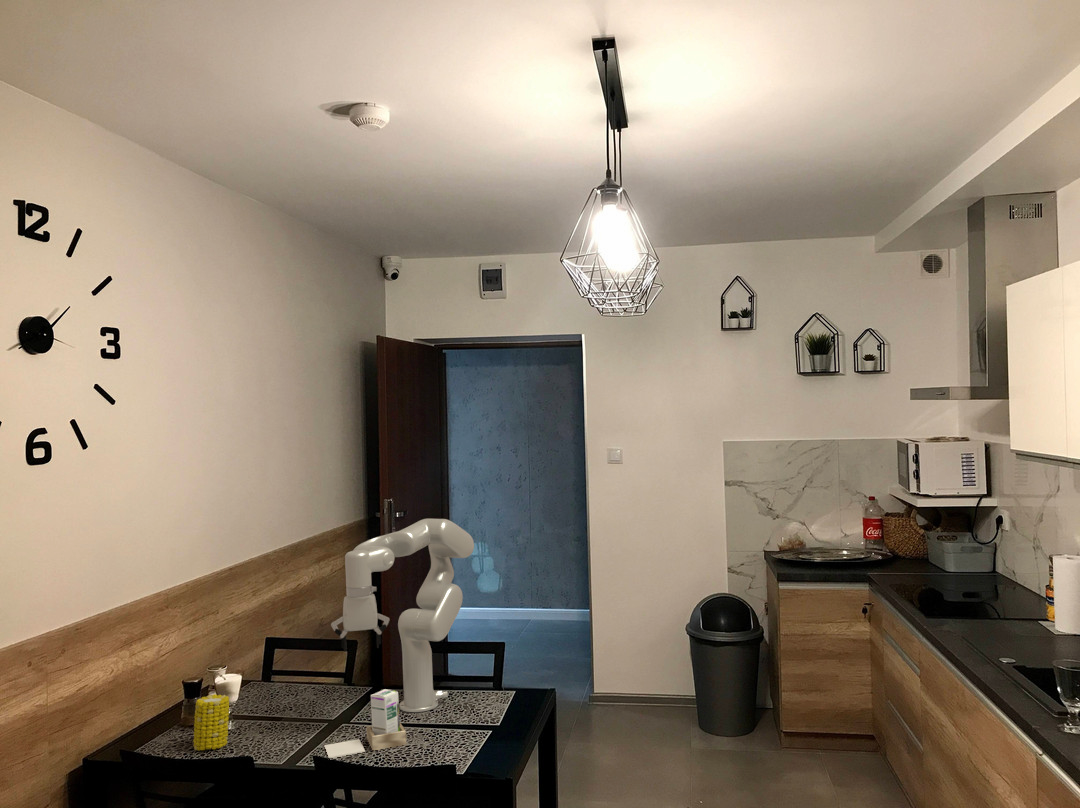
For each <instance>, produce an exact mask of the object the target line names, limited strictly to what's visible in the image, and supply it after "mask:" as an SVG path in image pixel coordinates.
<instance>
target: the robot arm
mask: <svg viewBox="0 0 1080 808" xmlns="http://www.w3.org/2000/svg"><path fill="white" fill-rule="evenodd" d="M427 546H428V551H429V555H430V556H429V557H430V568H429V571H428V573H427V576H426V578H425V579H424V581H423V583H422V585H421V586H420V588H419V590H418V592H417V595H416V598H415V599H416V600H415V601H416V605H417V606H418V607H419V608H408V609H406V610H404V611H402V612H401V614H400V615H399V618H398V620H397V621H398V623H397V627H398V628H397V629H398V632H399V636H400V640H401V641H400V642H401V652H402V653H401V654H402V682H403V683H402V684H403V700H402V701H400V703H399V710H401V711H403V712H407V713H423V712H427V711H430V710H434V709H435V708H437V707H438V706H439V699H444V698H448V695H449V693H448V690H445V691H442V690H437V691H435V690H434V683H433V682H434V680H433V678H434V677H433V656H432V655H433V652H432V648H431V645H430V641H431V642H440V641H442V640H444V639H445V638H446V637H447V635H448V634H449V632H450V630H451V628H452V626H453V624H454V622H455V620H456V618H457V617H458V614H459V612H460V610H461V607H462V606H463V605H462V604H463V600H464V599H463V595H464V594H463V592H462V589H461V588H460V586H459V585H457V584H455V583H452V581H453V580H454V576H455V570H454V568H453V565H452V562H451V558H452V559H464V558H466V559H467V558H468V557H470V556H471V555H472V553H473V552H474V549H475V542H474V539H473V537H472V535H471V534H470V533H468V531H466V530H465V529H464V528H462V527H460V526H459V525H458V524H457V523H455V522H453V521H452V520H449V519H446V518H423V519H421V520H418V521H417V522H414V523H413V524H411V525H409V526H407V527H405V528H402V529H400V530H398V531H394V532H391V533H386V534H384V535H379V536H376V537H373V538H371V539H367V540H366V541H364V542H361V543H360V544H358V545H357V546H355V548H354V549H353V550H351V551H348V552H346V553H345V556H344V562H345V563H344V564H345V565H344V566H345V586H346V588H345V590H346V596H344V597H343V605H342V607H343V608H342V616H340V617H339V618H337V619H336V620H334V621H332V622H331V624H330V626H331V628H332V630H333V631H334V633H335V634H336V635H337V636H338V637H339V638H340V641H341V646H340V647H341V649H343V651H344V652H346V651H348V650H347V649H348V648H347V646H348V645H347V636H346V635H347V634H348V632H354V631H355V632H356V631H367V630H373V631H374V632H376V633H375V638H376V643H375V644H376V648H377V649H380V645H382V636H381V635H382V633H383V632H384V631H385V630H386V629H387V627H388V625H389V623H390V617H388V616H386V615H383V614H381V613H378V608H377V600H376V596H375V594H374V592H378V591H377V589H378V588H377V586H373V585H372V573H374V572H384V571H387V570H389V569H390V568H391V567H392V566H393V565H394V562H395V558H401V557H406V556H410V555H413V554H414V553H416V552H417V551H420V550H421V549H424V548H425V547H427ZM378 620H381V621H383V623H382V624H381V626H380V627H379V625H378ZM341 623H342V626H343V630H341V629H340V628H339V627H338V625H340V624H341Z"/></svg>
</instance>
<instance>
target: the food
mask: <svg viewBox="0 0 1080 808" xmlns="http://www.w3.org/2000/svg"><path fill="white" fill-rule="evenodd" d="M229 716H230V697H229V696H228V695H226V694H222V695H221V694H216V693H214V694H212V695H211V694H209V695H207V696H202V697H201V698H198V699H197V700H196V702H195V710H194V717H193V718H194V723H193V726H194V728H193V731H194V732H193V739H192V742H193V749H194V750H195V751H196V750H197V751H205V750H211V749H212V750H216V749H218V750H219V748H220V749H222V748H224V747H225V746H226V745H227V744H228V739H229V738H228V736H229V731H228V730H229V724H230V723H229V722H230V721H229V719H230V718H229ZM223 746H224V747H223ZM221 747H222V748H221Z"/></svg>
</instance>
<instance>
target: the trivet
mask: <svg viewBox="0 0 1080 808" xmlns="http://www.w3.org/2000/svg"><path fill="white" fill-rule="evenodd" d="M324 747H325V748H324ZM323 748H324V750H325V749H326V751H325V753H326V752H327V753H326V756H327V755H328V756H327V758H333V759H332V760H335V759H338V758H337V757H341V758H343V757H342V756H346V755H352V754H357V753H362V752H365V753H366V750H365V748H364V746H363V743H362V742H361V740H360V739H359V738H358V739H353V740H348V741H341V742H340V741H339V742H336V743H330V744H324V746H323ZM352 756H353V755H352Z"/></svg>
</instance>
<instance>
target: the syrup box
mask: <svg viewBox="0 0 1080 808" xmlns="http://www.w3.org/2000/svg"><path fill="white" fill-rule="evenodd" d="M399 700H400V699H399V692H398V690H393V689H386V688H385V689H382V690H380V691H377V692H375V693H373V694H370V707H371V708H370V709H371V726H372V732H373V733H374V735H375V736H376V735H382V734H388V733H393V732H399V731H400V723H401V721H400V708H399V704H400V703H399Z"/></svg>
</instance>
